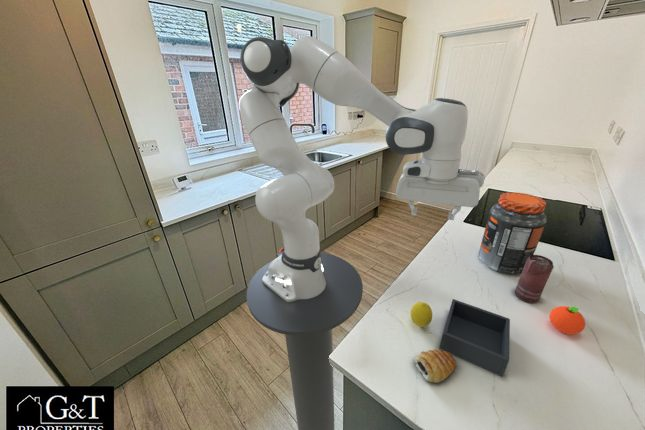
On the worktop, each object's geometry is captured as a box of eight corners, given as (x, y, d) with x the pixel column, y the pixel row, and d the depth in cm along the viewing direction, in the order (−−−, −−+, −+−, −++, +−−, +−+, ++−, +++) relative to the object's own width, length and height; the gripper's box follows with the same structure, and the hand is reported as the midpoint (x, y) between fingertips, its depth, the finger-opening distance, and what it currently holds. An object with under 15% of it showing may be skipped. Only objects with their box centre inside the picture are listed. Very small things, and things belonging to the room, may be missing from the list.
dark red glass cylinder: (508, 292, 83) (522, 256, 77) (523, 287, 85) (538, 252, 79) (527, 306, 78) (543, 268, 72) (543, 300, 80) (560, 263, 73)
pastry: (442, 349, 66) (444, 339, 65) (463, 373, 61) (466, 363, 59) (411, 361, 64) (413, 351, 62) (429, 388, 58) (432, 378, 56)
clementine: (555, 314, 75) (565, 295, 72) (586, 331, 69) (598, 312, 66) (540, 325, 72) (549, 305, 69) (571, 344, 66) (582, 324, 63)
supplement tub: (484, 246, 107) (502, 186, 95) (531, 262, 97) (557, 197, 85) (470, 263, 97) (488, 199, 86) (521, 283, 87) (548, 213, 75)
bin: (439, 348, 67) (442, 333, 64) (449, 313, 77) (452, 298, 74) (502, 376, 60) (509, 360, 57) (504, 333, 70) (510, 318, 67)
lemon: (428, 318, 75) (432, 297, 71) (431, 334, 70) (435, 313, 67) (408, 315, 76) (411, 294, 73) (409, 331, 71) (413, 309, 68)
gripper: (484, 167, 65) (473, 217, 71) (400, 162, 73) (396, 207, 79) (488, 174, 60) (475, 227, 66) (397, 168, 67) (393, 216, 73)
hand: (431, 216), depth 72 cm, fingers open, 8 cm apart
